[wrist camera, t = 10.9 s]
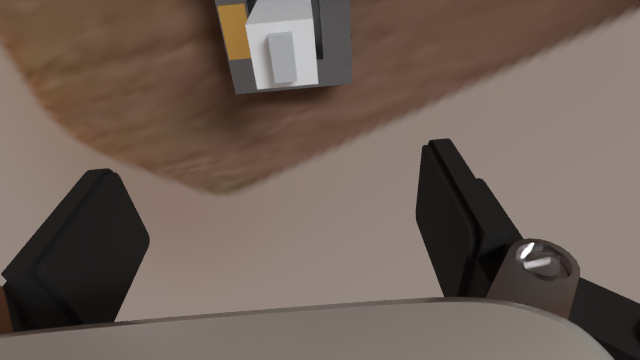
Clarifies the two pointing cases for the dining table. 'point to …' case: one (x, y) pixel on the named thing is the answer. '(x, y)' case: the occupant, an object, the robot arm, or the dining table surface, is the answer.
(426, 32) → the dining table surface
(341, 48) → the socket panel
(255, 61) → the plug
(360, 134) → the dining table surface
